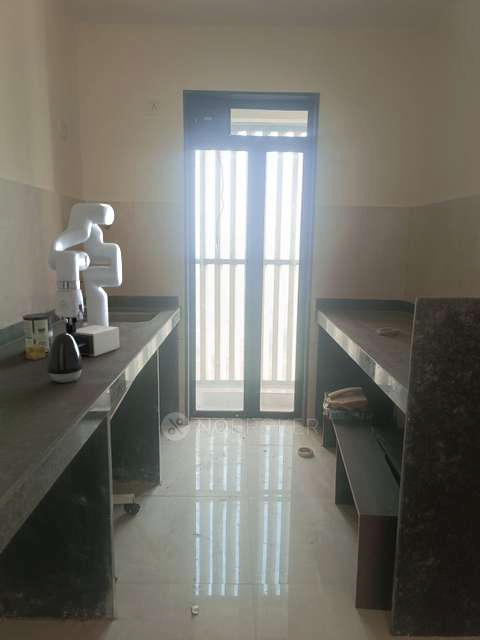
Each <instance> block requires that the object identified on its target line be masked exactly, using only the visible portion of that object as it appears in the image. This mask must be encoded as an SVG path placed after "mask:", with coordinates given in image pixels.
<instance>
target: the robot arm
mask: <svg viewBox="0 0 480 640" xmlns="http://www.w3.org/2000/svg"><path fill="white" fill-rule="evenodd" d="M69 214H70V215H69V219H68V225H67V229H65V230H64V231H62V232H61V233H60V234H58V235H57V236H56V237H55V238H54V239H53V241H52V242H51V244H50V247H49V250H48V251H49V252H48V257H47V262H48V266H49V268H50V269H51V270H53V271H55V272H56V283H55V284H56V287H57V288H56V289H55V293H54V315H55V316H57V318H58V319H60V320H62V321H63V324H64V325H65V333H68V334H70V335H71V334H72V333H73V332H75V333H76V329H77V324H78V322H79V321H82V320H83V319H84V317H83V316H84V314H85V313H84V312H85V307H84V298H83V293H82V290H81V288H80V272H82V280H83V286H84V290H85V302H86V303H85V304H86V305H85V306H86V322H84V323H83V324H82V325H81V326H82V327H81V328H84V327H88V326H92V325H101V326H109V325H110V324H109V307H108V306H109V305H108V295H107V292H105V290H104V289H103V288H115V287H120V286H121V284H122V282H123V274H122V273H123V271H122V255H121V249H120V247H119V245H118V244H117V243H113V242H104V238H103V231H102V229H101V228H100V226H99V225H107V226H108V225H111V224H112V223H113V222H114V218H115V213H114V209H113V207H112V206H111V205H110V204H105V203H93V202H80V203H76V204H74V205H73V206H72V207H71V210H70V213H69ZM82 243H83V251H82V250H66V249H68V248H70V247H74V246H76V245H79V244H82ZM90 264H96V265H97V264H101V266H98V265H97V266H92V265H91V266H90ZM102 264H103V266H102ZM104 265H109V266H104Z"/></svg>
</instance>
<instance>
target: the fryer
mask: <svg viewBox="0 0 480 640" xmlns="http://www.w3.org/2000/svg"><path fill="white" fill-rule="evenodd" d="M76 334H79V335H87V336H92V345H93V352H92V354H91V355H88V354H81V353H80V355H81V356H82V355H83V356H89V357H96V356H100V355H102V354H106V353H109V352H111V351H114V350H118V349H120V347H121V346H120V327H118V326H101V325H92V326H88V327H80V328H76Z"/></svg>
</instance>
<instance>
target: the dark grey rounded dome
mask: <svg viewBox="0 0 480 640" xmlns="http://www.w3.org/2000/svg"><path fill="white" fill-rule="evenodd" d="M75 335H76V333H75V332H73V333H72V334H71V335H70V334H68V333H66V332H60V333H57V334H56V335H55V336H54V337H53V341H52V344H51V347H50V351H48V355H47V363H46V364H47V365H46V368H47V373H48V375H49V377H50V378H51V379H52V380H53V381H54V382H56V383H58V384H59V383H60V384H66V383H71V382H74V381H77V379H79V377H80V376H81V374H82V370H83V368H84V364H83V359H82V354H80V352H79V349H78V346H77V344H76V342H75V340H74V339H73V337H74V336H75Z"/></svg>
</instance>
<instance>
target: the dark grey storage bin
mask: <svg viewBox="0 0 480 640" xmlns="http://www.w3.org/2000/svg"><path fill="white" fill-rule="evenodd" d="M73 339H74V340H75V342H76V344H77V346H78V349H79V352H80V353H81V354H80V355H82V354H88V355H87V356H89V355H91V354H92V352H93V345H92V336H87V335H79V334H76V335H75V336H74V337H73Z"/></svg>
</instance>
